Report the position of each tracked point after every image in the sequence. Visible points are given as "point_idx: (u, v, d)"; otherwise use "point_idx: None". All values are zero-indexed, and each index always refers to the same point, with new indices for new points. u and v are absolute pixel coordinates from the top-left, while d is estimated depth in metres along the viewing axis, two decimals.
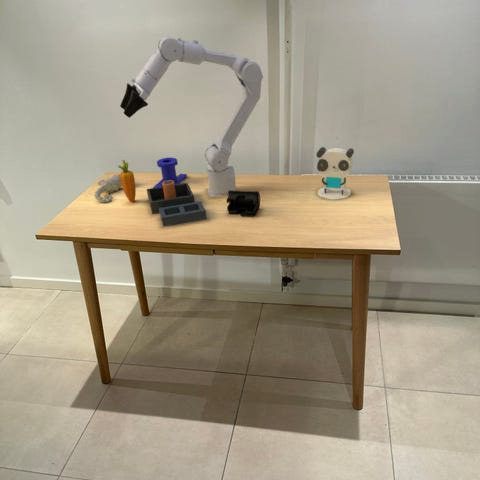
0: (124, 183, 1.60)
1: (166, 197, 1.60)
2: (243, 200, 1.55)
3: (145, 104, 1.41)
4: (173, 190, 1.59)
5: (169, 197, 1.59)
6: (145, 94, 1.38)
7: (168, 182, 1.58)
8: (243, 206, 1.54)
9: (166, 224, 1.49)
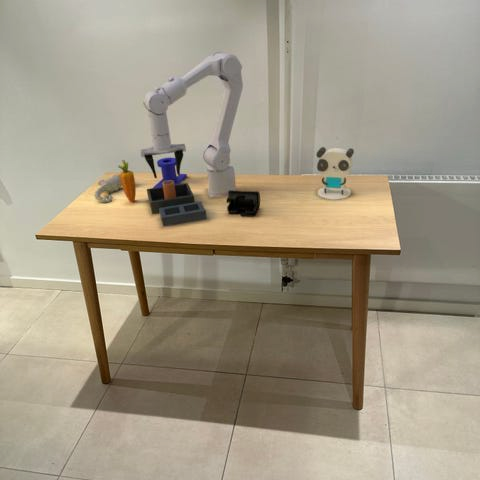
0: (124, 183, 1.60)
1: (166, 197, 1.60)
2: (243, 200, 1.55)
3: None
4: (173, 190, 1.59)
5: (169, 197, 1.59)
6: None
7: (168, 182, 1.58)
8: (243, 206, 1.54)
9: (166, 224, 1.49)
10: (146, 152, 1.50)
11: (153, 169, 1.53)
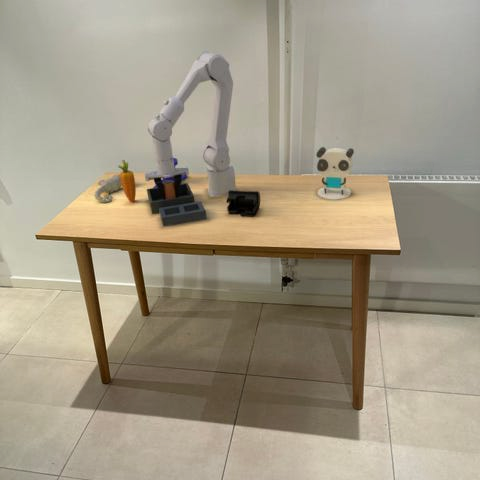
0: (124, 183, 1.60)
1: (166, 197, 1.60)
2: (243, 200, 1.55)
3: None
4: (173, 190, 1.59)
5: (169, 197, 1.59)
6: None
7: (168, 182, 1.58)
8: (243, 206, 1.54)
9: (166, 224, 1.49)
10: (150, 176, 1.54)
11: (162, 191, 1.58)
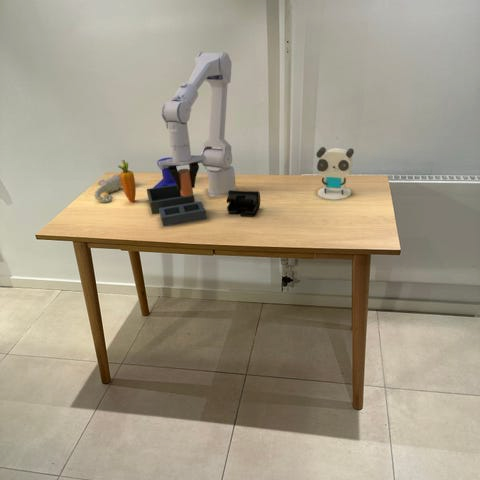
0: (124, 183, 1.60)
1: (181, 187, 1.47)
2: (243, 200, 1.55)
3: None
4: (189, 179, 1.46)
5: (185, 187, 1.47)
6: None
7: (184, 171, 1.45)
8: (243, 206, 1.54)
9: (166, 224, 1.49)
10: (165, 164, 1.42)
11: (177, 181, 1.46)
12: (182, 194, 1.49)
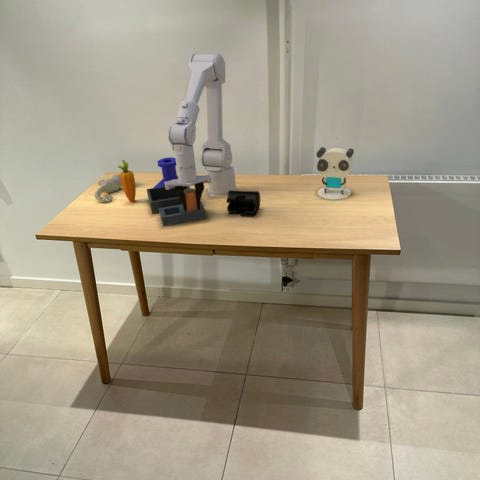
0: (124, 183, 1.60)
1: (187, 206, 1.50)
2: (243, 200, 1.55)
3: None
4: (195, 199, 1.49)
5: (190, 206, 1.49)
6: (210, 177, 1.48)
7: (190, 191, 1.48)
8: (243, 206, 1.54)
9: (166, 224, 1.49)
10: (171, 184, 1.44)
11: (183, 200, 1.48)
12: None
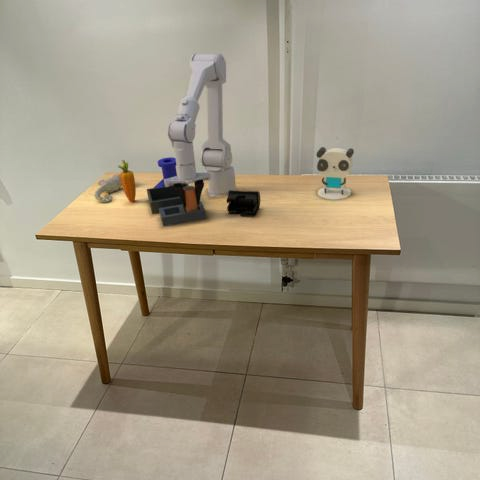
0: (124, 183, 1.60)
1: (187, 204, 1.49)
2: (243, 200, 1.55)
3: None
4: (194, 196, 1.48)
5: (190, 204, 1.49)
6: None
7: (189, 188, 1.47)
8: (243, 206, 1.54)
9: (166, 224, 1.49)
10: (170, 182, 1.44)
11: (182, 198, 1.47)
12: (187, 211, 1.51)
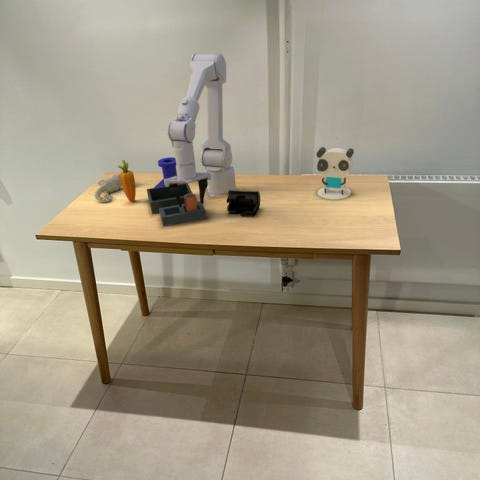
0: (124, 183, 1.60)
1: None
2: (243, 200, 1.55)
3: None
4: (195, 204, 1.50)
5: None
6: (210, 174, 1.47)
7: (190, 196, 1.49)
8: (243, 206, 1.54)
9: (166, 224, 1.49)
10: (170, 181, 1.44)
11: (178, 198, 1.47)
12: None
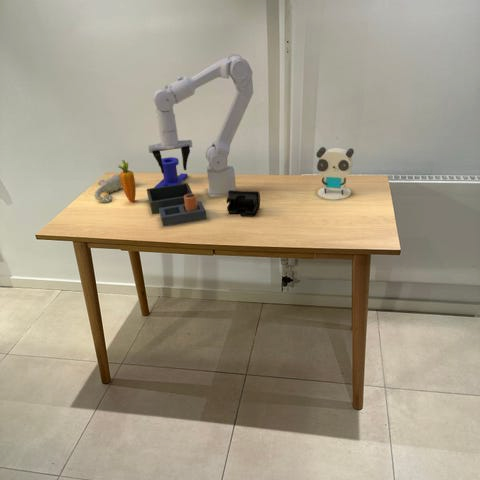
0: (124, 183, 1.60)
1: None
2: (243, 200, 1.55)
3: None
4: (195, 204, 1.50)
5: None
6: (191, 142, 1.57)
7: (190, 196, 1.49)
8: (243, 206, 1.54)
9: (166, 224, 1.49)
10: (154, 148, 1.54)
11: (161, 164, 1.58)
12: None
